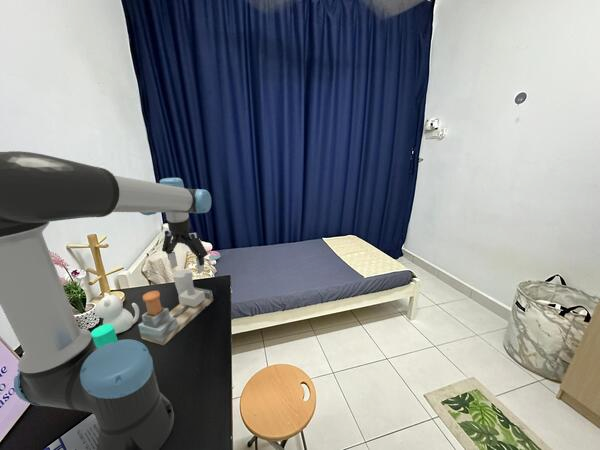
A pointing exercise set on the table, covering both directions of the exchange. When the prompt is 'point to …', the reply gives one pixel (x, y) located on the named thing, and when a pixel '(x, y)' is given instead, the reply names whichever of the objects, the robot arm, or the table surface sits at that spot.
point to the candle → (104, 335)
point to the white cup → (181, 280)
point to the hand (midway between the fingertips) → (187, 269)
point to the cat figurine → (115, 313)
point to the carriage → (191, 293)
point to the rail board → (181, 319)
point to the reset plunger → (152, 302)
